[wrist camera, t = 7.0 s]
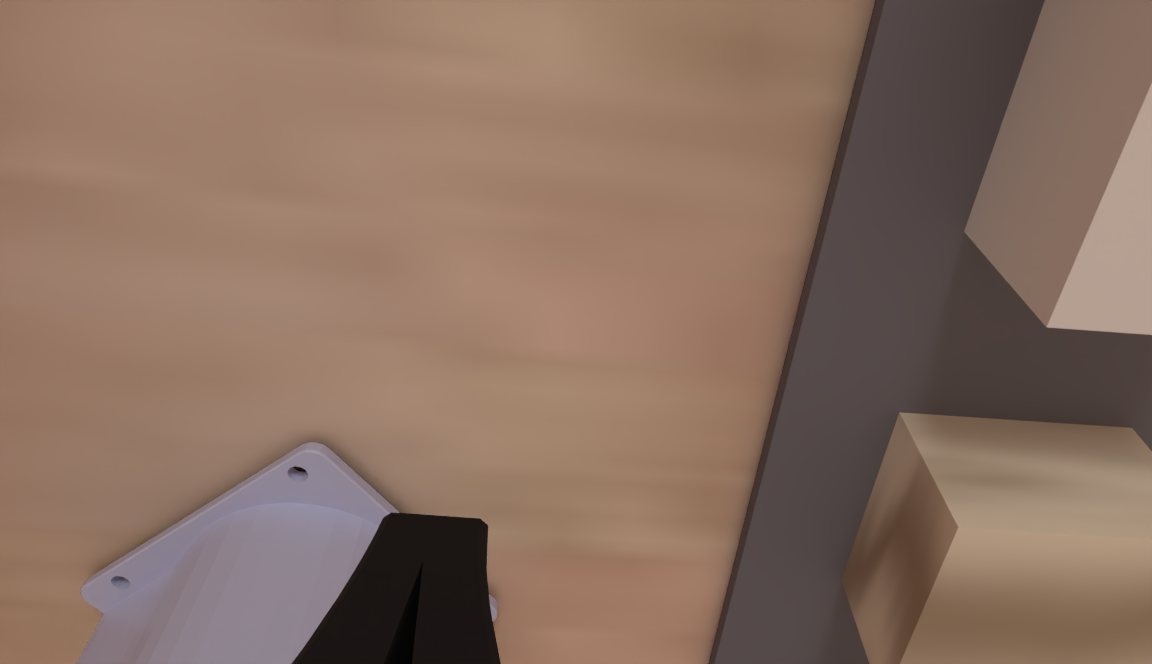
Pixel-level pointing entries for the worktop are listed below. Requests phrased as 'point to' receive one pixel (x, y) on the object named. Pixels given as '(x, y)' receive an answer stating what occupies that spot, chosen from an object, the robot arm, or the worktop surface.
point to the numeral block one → (1076, 171)
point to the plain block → (1005, 545)
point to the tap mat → (903, 324)
